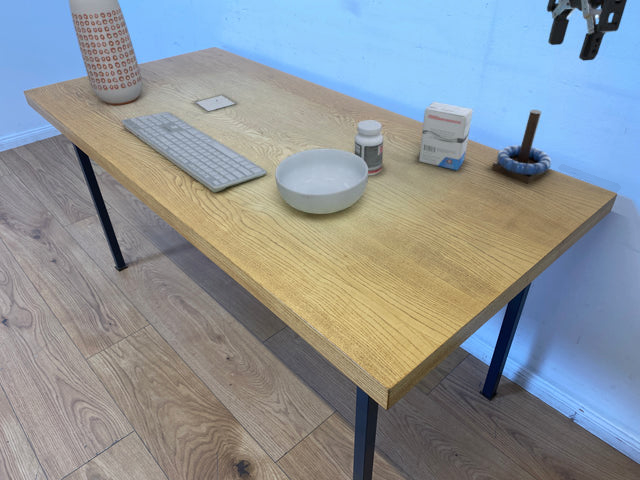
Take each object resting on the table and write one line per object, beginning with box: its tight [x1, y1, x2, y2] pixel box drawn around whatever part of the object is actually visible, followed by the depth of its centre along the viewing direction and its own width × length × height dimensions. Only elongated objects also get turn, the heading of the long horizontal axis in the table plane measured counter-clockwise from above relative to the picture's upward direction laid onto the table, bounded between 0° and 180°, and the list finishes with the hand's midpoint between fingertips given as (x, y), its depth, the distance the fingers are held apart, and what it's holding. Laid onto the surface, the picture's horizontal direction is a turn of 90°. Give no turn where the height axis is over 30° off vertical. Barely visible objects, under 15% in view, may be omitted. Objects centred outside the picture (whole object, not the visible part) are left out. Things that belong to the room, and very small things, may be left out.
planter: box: [68, 0, 143, 106], centre depth 124 cm, size 13×13×28 cm
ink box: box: [418, 101, 474, 171], centre depth 97 cm, size 8×5×12 cm, turn 59°
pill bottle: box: [354, 119, 384, 176], centre depth 95 cm, size 6×6×10 cm
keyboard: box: [120, 111, 267, 193], centre depth 106 cm, size 44×12×2 cm, turn 42°
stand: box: [491, 109, 550, 185], centre depth 93 cm, size 8×8×12 cm
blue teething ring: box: [496, 144, 552, 175], centre depth 95 cm, size 10×10×2 cm
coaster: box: [195, 95, 236, 112], centre depth 128 cm, size 8×8×1 cm
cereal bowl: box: [274, 147, 369, 215], centre depth 87 cm, size 17×17×7 cm
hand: (569, 51), depth 74 cm, fingers open, 8 cm apart
